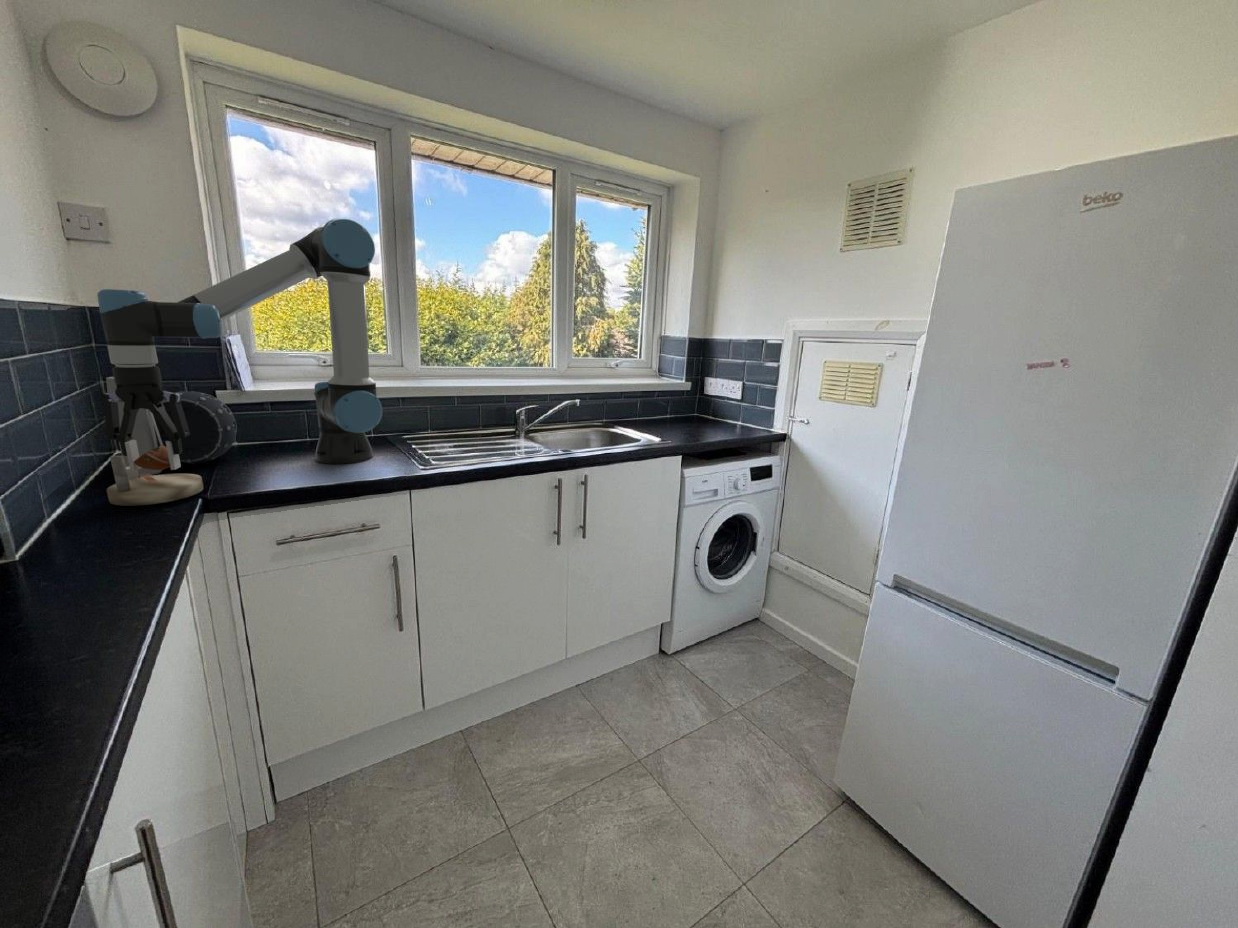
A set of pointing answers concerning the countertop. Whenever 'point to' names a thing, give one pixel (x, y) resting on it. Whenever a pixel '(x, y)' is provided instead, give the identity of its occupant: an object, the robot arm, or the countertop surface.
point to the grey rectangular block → (131, 473)
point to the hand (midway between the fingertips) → (156, 468)
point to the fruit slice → (154, 459)
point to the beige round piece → (150, 486)
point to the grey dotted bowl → (202, 427)
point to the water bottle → (139, 429)
